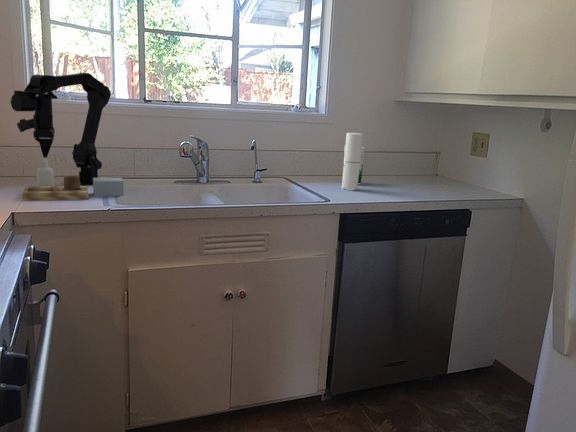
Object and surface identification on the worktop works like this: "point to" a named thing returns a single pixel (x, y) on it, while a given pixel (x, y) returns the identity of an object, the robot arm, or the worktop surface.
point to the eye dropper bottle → (45, 174)
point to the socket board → (53, 193)
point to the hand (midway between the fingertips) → (45, 155)
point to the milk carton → (360, 163)
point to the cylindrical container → (352, 160)
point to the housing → (108, 187)
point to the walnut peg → (71, 183)
